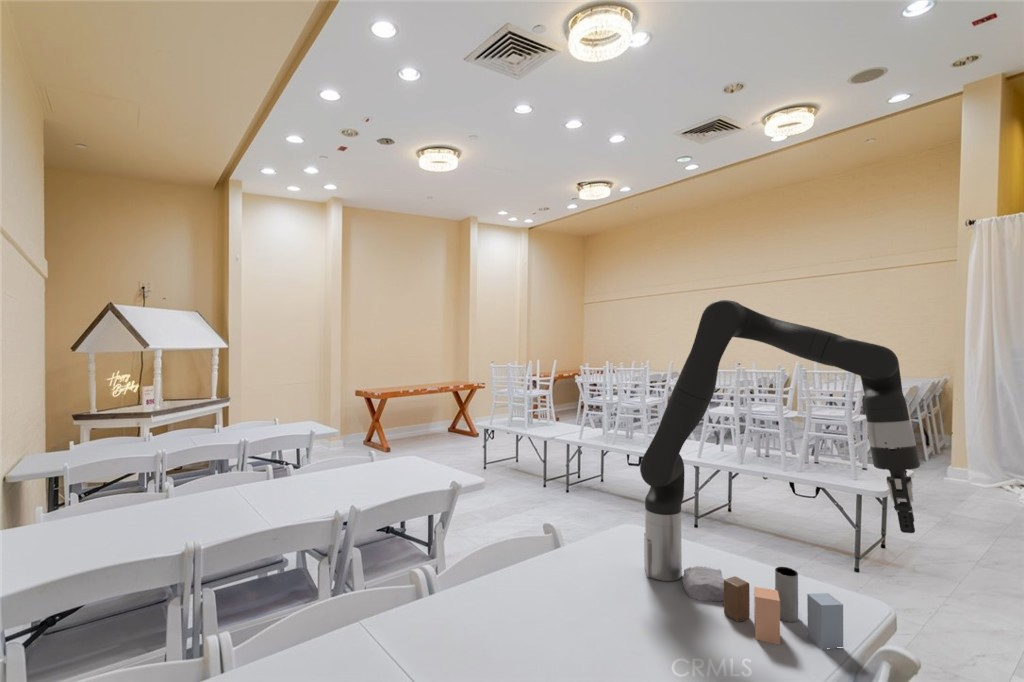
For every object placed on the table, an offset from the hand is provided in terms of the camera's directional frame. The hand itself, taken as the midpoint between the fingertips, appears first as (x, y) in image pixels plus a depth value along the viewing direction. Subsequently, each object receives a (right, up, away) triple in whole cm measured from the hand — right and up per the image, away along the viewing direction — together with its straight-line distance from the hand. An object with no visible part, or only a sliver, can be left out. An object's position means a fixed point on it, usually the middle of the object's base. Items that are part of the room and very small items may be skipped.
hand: (907, 527), depth 99 cm
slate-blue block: (-14, -25, +5) cm, 29 cm away
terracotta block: (-24, -26, +7) cm, 36 cm away
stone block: (-30, -26, +27) cm, 48 cm away
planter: (-16, -26, +14) cm, 33 cm away
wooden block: (-27, -26, +14) cm, 40 cm away
